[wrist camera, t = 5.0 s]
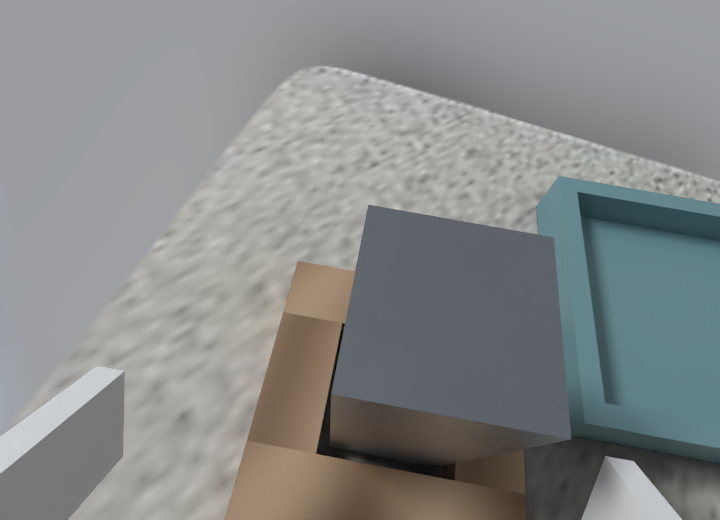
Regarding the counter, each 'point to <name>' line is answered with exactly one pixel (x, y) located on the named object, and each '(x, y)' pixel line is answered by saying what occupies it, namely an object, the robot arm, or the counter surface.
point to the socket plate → (334, 475)
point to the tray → (638, 315)
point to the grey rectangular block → (449, 343)
